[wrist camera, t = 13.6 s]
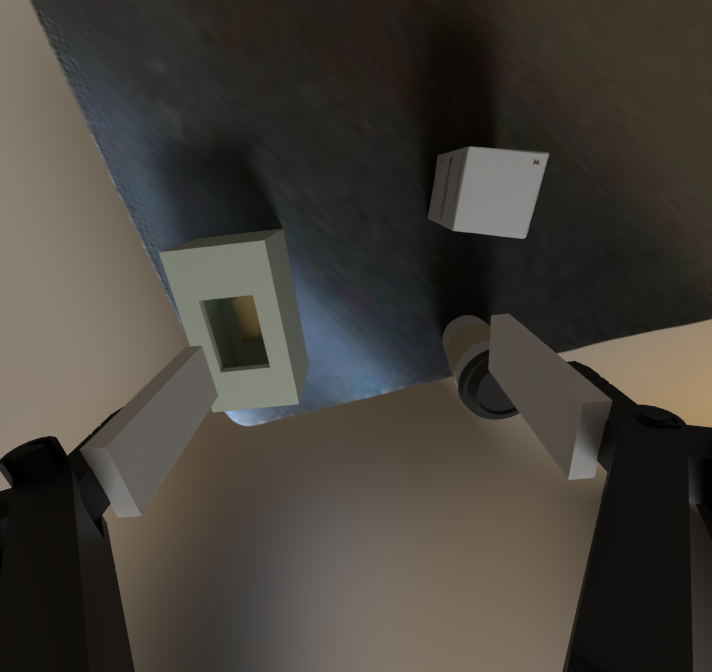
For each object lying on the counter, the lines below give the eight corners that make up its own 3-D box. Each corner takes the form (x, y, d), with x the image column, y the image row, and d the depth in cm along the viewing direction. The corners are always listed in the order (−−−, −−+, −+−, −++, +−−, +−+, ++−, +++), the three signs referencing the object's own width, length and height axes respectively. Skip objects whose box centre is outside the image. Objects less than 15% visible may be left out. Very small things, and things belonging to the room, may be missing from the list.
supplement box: (436, 153, 40) (469, 141, 29) (497, 160, 41) (554, 151, 29) (425, 219, 43) (450, 231, 32) (482, 225, 44) (528, 239, 32)
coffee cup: (499, 306, 48) (557, 354, 35) (493, 362, 52) (543, 426, 38) (435, 310, 48) (467, 360, 35) (433, 366, 52) (462, 431, 38)
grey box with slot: (199, 238, 44) (158, 252, 35) (283, 228, 44) (264, 240, 35) (237, 372, 52) (212, 412, 43) (308, 365, 52) (299, 403, 43)
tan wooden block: (237, 285, 46) (230, 292, 43) (267, 283, 46) (261, 289, 43) (249, 333, 49) (242, 342, 46) (276, 330, 49) (272, 339, 46)
